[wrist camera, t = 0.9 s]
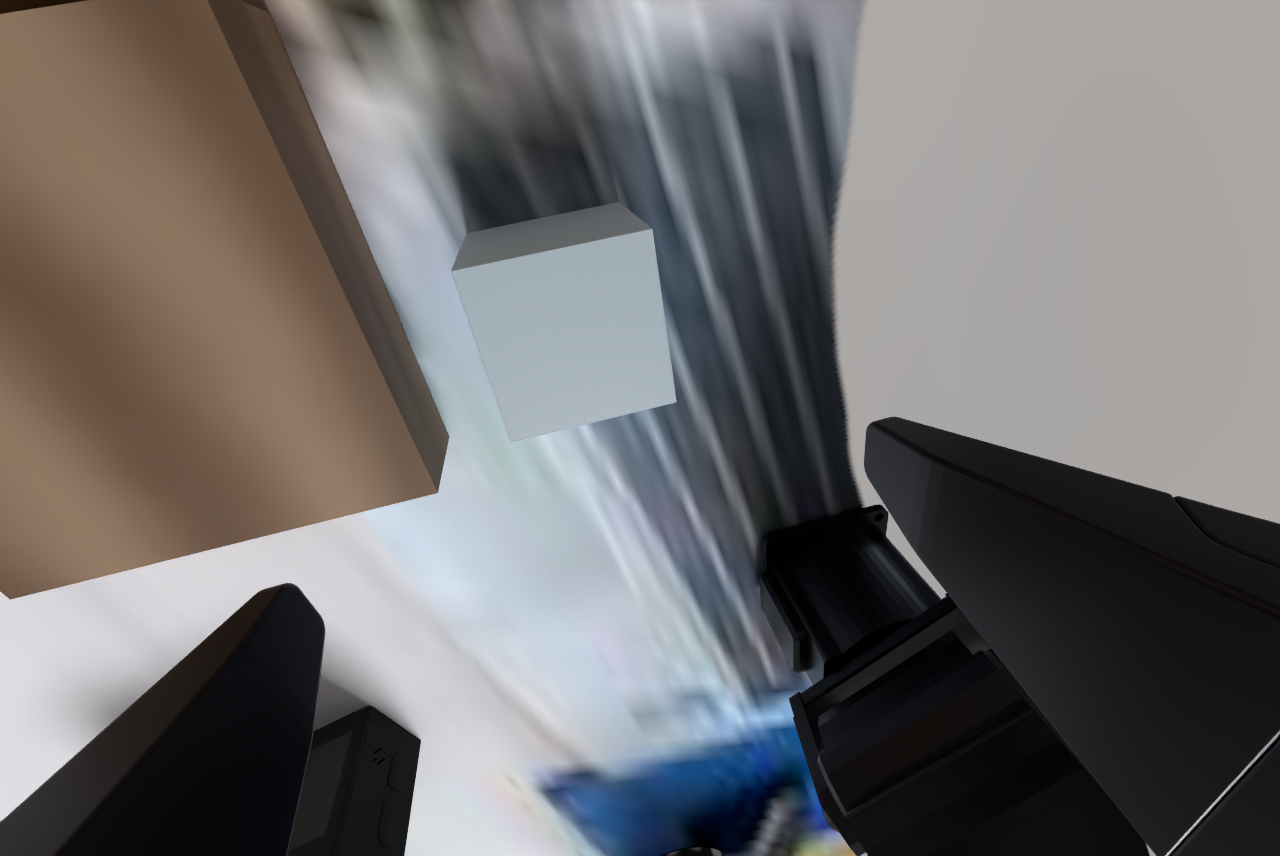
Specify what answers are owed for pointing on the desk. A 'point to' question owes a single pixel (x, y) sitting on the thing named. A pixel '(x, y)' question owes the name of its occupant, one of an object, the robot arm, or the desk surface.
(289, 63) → the walnut block
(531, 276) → the slate cube
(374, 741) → the digital camera
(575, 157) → the desk surface
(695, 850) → the spotted tube
